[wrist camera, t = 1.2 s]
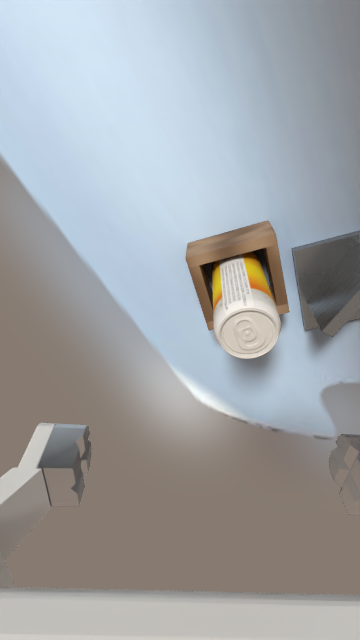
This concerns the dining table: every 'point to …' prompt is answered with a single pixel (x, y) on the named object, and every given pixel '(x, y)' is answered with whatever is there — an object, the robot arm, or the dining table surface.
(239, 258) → the beer can
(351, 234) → the V-block
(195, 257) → the walnut sleeve
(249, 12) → the dining table surface
